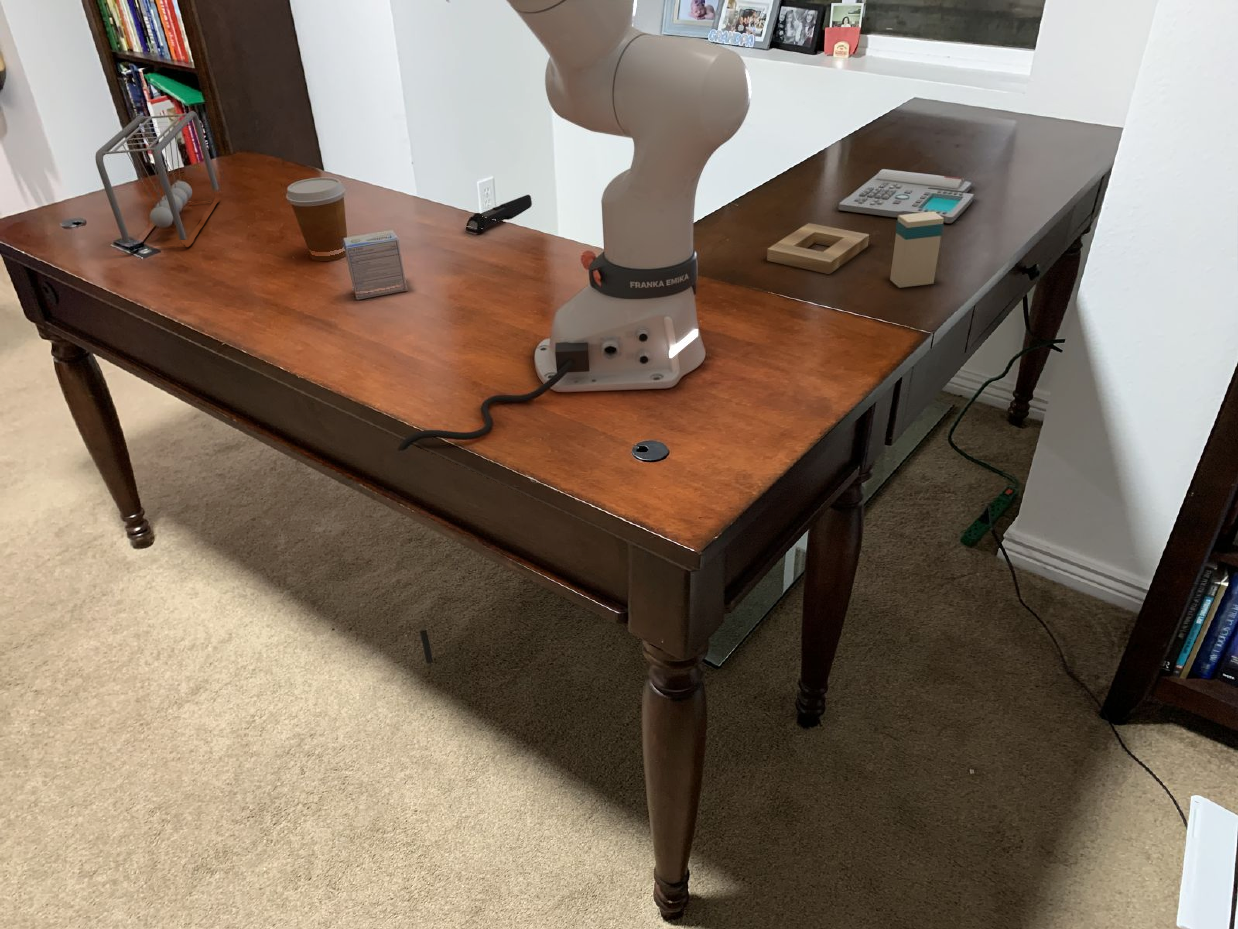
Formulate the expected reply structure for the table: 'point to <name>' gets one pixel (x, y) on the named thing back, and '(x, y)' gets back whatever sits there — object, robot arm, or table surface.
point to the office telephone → (910, 195)
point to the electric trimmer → (498, 214)
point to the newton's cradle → (179, 190)
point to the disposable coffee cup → (320, 214)
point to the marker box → (916, 249)
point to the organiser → (825, 262)
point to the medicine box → (375, 263)
